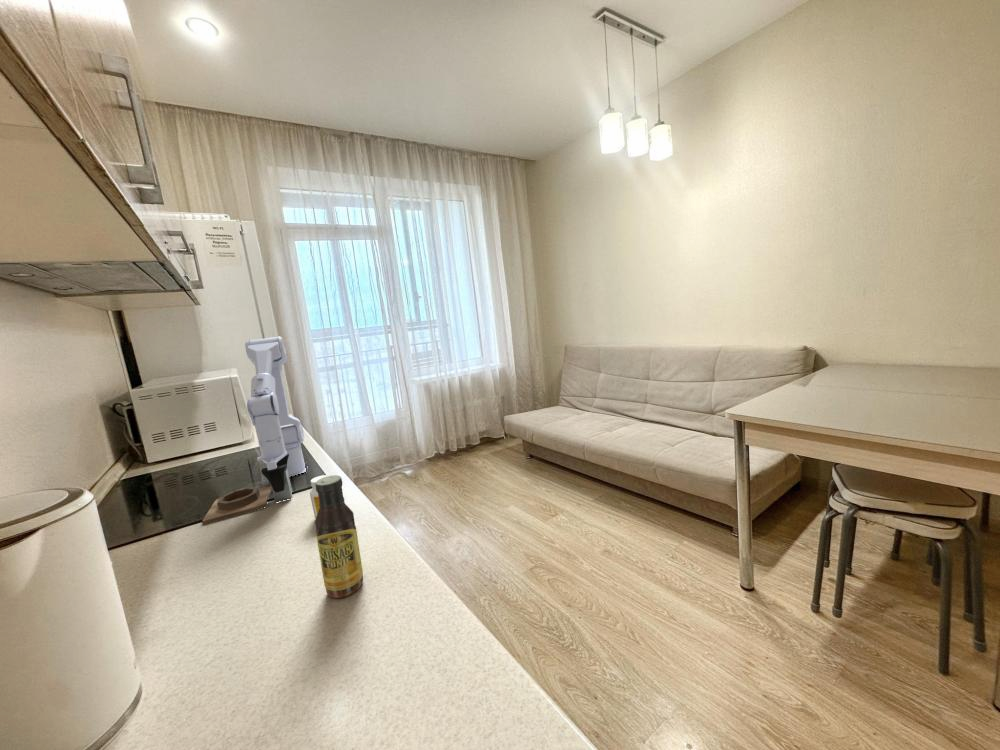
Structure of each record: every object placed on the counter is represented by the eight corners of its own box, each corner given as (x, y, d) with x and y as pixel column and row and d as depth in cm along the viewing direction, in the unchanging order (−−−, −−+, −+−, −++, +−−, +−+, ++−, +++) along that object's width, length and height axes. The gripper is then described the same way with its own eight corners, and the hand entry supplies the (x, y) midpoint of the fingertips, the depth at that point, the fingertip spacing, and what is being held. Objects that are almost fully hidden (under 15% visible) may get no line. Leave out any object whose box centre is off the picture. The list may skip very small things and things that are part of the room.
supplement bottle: (343, 512, 95) (336, 475, 94) (324, 523, 91) (315, 485, 89) (330, 508, 98) (323, 472, 97) (310, 519, 94) (302, 481, 92)
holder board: (217, 502, 111) (214, 492, 110) (272, 488, 116) (270, 478, 116) (202, 524, 98) (200, 513, 97) (266, 507, 103) (263, 497, 103)
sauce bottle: (323, 605, 64) (299, 492, 61) (329, 581, 70) (307, 477, 67) (365, 593, 65) (343, 483, 62) (367, 571, 71) (347, 469, 68)
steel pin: (276, 498, 109) (270, 471, 107) (292, 494, 110) (286, 467, 109) (275, 504, 105) (268, 476, 104) (291, 499, 107) (285, 472, 105)
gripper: (257, 435, 110) (268, 481, 112) (248, 449, 97) (260, 500, 99) (285, 430, 112) (295, 474, 115) (280, 443, 99) (291, 492, 101)
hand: (281, 486), depth 107 cm, fingers open, 7 cm apart
